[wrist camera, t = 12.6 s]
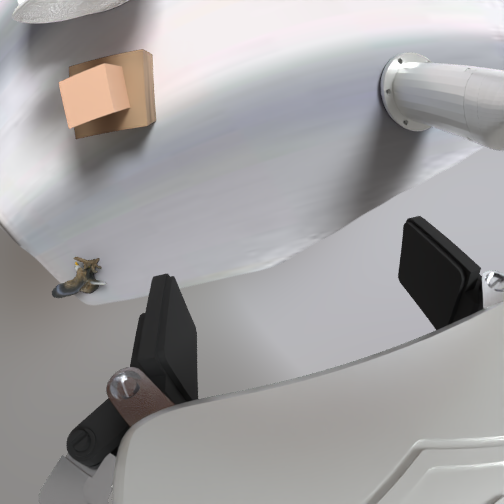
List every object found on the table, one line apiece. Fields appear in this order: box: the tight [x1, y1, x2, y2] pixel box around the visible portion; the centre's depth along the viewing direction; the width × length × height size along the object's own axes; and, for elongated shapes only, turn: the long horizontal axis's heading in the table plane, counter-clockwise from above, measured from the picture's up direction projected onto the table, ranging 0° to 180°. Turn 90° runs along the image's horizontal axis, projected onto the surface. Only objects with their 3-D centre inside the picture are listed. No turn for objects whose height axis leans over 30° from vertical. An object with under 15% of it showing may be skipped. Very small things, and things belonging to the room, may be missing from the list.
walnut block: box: [69, 49, 156, 139], centre depth 29 cm, size 9×9×6 cm
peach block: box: [59, 63, 130, 129], centre depth 24 cm, size 5×5×6 cm
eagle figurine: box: [52, 257, 107, 298], centre depth 42 cm, size 8×7×9 cm
